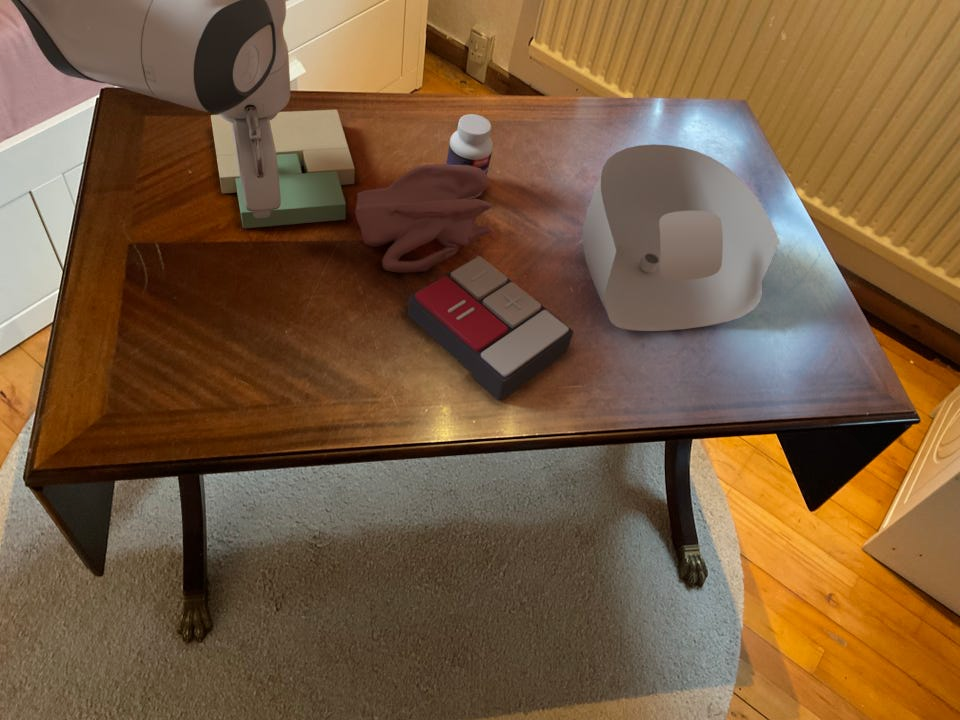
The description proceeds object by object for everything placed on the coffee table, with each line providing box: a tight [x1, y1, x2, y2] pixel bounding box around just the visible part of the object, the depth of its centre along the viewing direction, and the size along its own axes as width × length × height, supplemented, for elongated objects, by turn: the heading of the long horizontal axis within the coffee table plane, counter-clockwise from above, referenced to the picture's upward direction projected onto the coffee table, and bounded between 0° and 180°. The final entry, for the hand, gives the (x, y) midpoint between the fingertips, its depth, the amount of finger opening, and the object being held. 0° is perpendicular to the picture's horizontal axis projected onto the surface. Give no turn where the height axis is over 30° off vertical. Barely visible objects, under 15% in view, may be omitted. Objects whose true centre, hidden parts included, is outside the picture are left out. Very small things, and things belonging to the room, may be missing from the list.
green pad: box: [235, 154, 347, 229], centre depth 90 cm, size 12×10×2 cm
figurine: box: [354, 163, 494, 274], centre depth 87 cm, size 12×10×15 cm
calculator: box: [407, 255, 574, 402], centre depth 81 cm, size 11×4×15 cm
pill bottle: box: [445, 113, 494, 199], centre depth 93 cm, size 5×5×10 cm
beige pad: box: [210, 109, 356, 194], centre depth 94 cm, size 16×12×2 cm
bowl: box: [582, 143, 780, 332], centre depth 88 cm, size 20×19×12 cm
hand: (256, 185), depth 86 cm, fingers open, 8 cm apart
